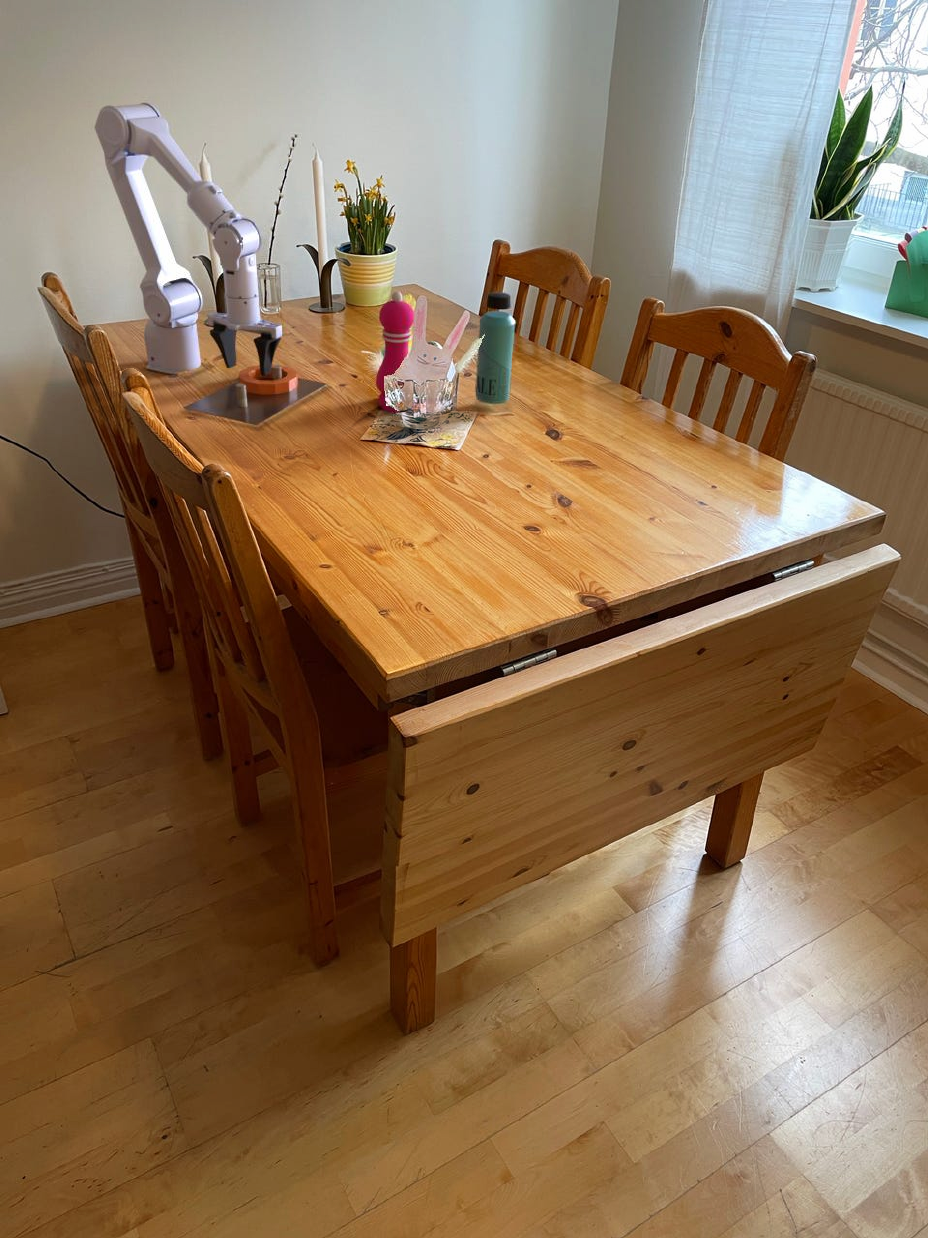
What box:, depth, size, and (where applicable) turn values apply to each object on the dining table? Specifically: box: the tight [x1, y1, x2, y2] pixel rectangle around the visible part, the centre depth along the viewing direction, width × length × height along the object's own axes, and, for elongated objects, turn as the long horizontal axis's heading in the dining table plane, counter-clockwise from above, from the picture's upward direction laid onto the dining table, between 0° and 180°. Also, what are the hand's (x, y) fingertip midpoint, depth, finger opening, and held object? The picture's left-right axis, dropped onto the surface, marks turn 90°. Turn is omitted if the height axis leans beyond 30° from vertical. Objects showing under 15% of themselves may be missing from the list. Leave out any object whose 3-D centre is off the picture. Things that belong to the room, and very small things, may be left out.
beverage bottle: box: [474, 291, 516, 405], centre depth 157 cm, size 6×7×20 cm
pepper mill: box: [375, 291, 415, 413], centre depth 155 cm, size 7×7×20 cm
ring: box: [238, 364, 299, 395], centre depth 163 cm, size 10×10×2 cm
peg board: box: [183, 364, 328, 426], centre depth 158 cm, size 15×23×4 cm, turn 157°
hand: (248, 370), depth 164 cm, fingers open, 7 cm apart
